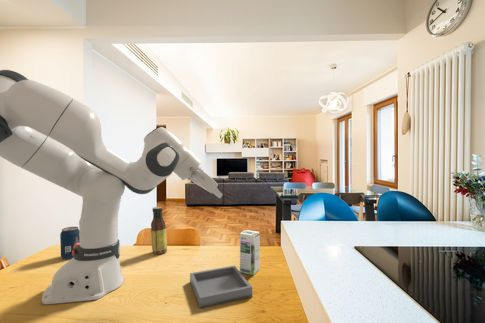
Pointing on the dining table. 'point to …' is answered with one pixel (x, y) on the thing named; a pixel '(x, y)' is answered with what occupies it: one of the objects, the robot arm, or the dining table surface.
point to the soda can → (68, 241)
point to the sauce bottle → (158, 232)
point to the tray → (219, 286)
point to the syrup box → (249, 252)
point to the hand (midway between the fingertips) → (217, 194)
